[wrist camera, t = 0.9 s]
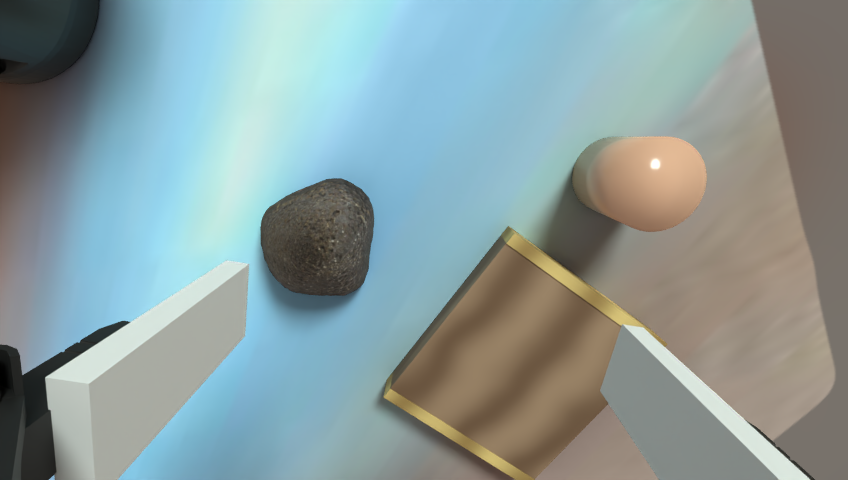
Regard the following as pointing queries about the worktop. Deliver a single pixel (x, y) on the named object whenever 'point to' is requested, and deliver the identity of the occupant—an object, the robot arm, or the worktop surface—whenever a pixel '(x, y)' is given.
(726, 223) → the worktop surface
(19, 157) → the worktop surface
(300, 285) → the stone
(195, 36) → the worktop surface
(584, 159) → the peach rounded capsule
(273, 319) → the worktop surface
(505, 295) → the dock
